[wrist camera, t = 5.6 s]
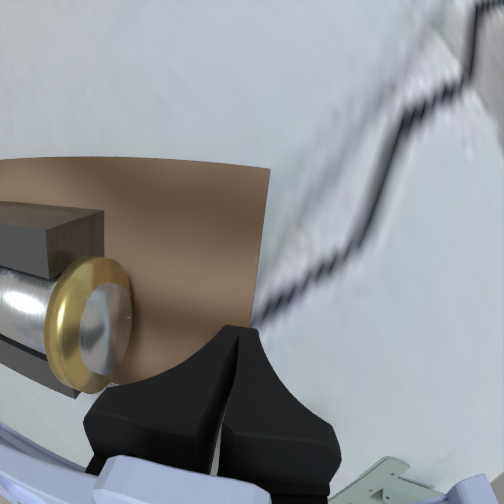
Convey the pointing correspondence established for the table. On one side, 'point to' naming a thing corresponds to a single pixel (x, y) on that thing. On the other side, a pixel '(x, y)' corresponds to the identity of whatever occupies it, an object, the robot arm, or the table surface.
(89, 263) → the shaft
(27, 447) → the robot arm
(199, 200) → the base board
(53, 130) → the table surface
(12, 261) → the bearing block
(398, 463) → the metal bracket
